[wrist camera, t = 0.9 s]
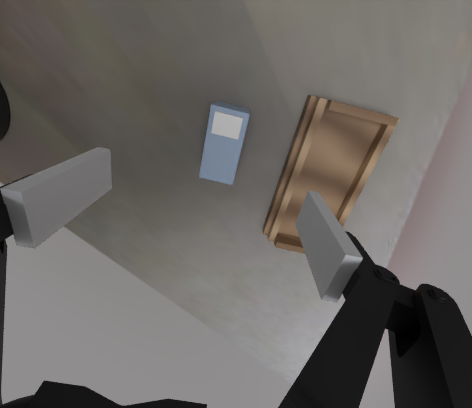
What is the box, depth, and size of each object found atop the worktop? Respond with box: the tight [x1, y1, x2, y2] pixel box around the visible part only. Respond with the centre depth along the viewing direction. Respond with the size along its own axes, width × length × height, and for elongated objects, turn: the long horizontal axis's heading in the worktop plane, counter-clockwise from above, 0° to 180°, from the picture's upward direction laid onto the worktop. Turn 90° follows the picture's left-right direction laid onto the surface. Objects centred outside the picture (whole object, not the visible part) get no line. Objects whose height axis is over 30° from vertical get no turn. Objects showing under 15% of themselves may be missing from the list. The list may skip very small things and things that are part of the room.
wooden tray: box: [263, 95, 399, 254], centre depth 34 cm, size 22×12×4 cm, turn 167°
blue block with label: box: [199, 101, 250, 185], centre depth 31 cm, size 9×4×8 cm, turn 167°
